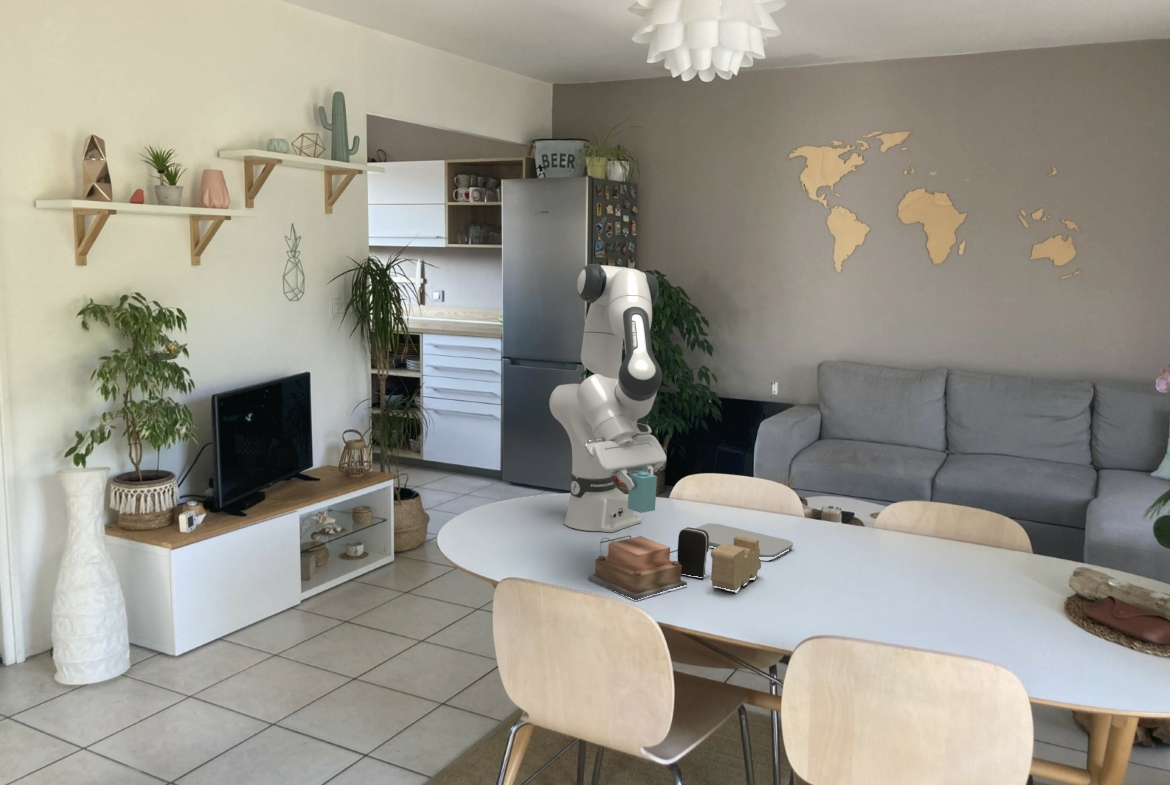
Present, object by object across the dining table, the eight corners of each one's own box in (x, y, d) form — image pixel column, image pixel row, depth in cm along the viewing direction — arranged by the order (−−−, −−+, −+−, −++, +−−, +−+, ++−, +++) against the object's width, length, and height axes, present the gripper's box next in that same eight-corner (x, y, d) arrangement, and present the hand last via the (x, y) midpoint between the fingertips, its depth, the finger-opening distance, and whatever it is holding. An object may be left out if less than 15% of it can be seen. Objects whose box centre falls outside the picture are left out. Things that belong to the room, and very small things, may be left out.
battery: (708, 575, 224) (711, 529, 223) (703, 580, 221) (706, 533, 219) (680, 570, 227) (683, 524, 226) (675, 574, 224) (678, 528, 222)
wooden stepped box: (638, 567, 228) (640, 530, 227) (686, 587, 216) (688, 548, 214) (588, 580, 218) (590, 541, 216) (635, 601, 206) (637, 561, 204)
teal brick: (641, 505, 217) (643, 469, 216) (654, 510, 214) (657, 473, 213) (627, 508, 214) (629, 471, 213) (640, 513, 211) (642, 475, 210)
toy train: (760, 577, 225) (763, 537, 223) (730, 597, 211) (733, 555, 209) (738, 572, 228) (741, 532, 226) (708, 592, 214) (710, 549, 212)
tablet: (709, 529, 263) (710, 522, 263) (796, 550, 248) (797, 542, 248) (679, 542, 250) (680, 534, 250) (769, 565, 235) (770, 556, 235)
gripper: (588, 432, 210) (615, 484, 205) (654, 425, 224) (681, 473, 218) (575, 448, 214) (601, 500, 209) (640, 440, 228) (666, 488, 222)
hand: (642, 486), depth 213 cm, fingers closed on teal brick, 4 cm apart
